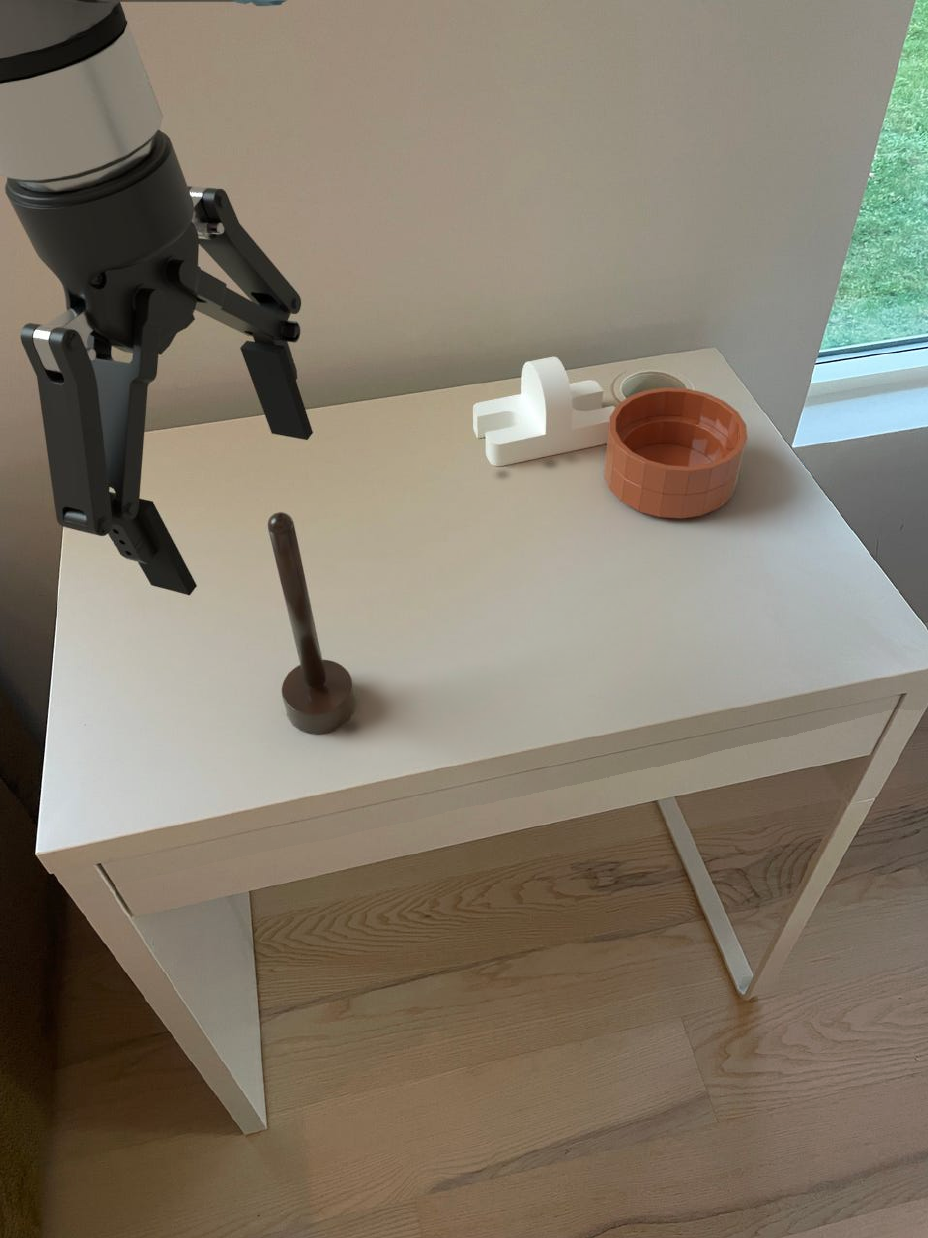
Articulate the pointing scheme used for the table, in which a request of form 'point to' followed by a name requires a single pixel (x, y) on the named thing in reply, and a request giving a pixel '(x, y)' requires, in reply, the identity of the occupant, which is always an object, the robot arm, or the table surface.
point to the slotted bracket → (542, 416)
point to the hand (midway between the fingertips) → (237, 505)
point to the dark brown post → (307, 646)
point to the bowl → (674, 452)
